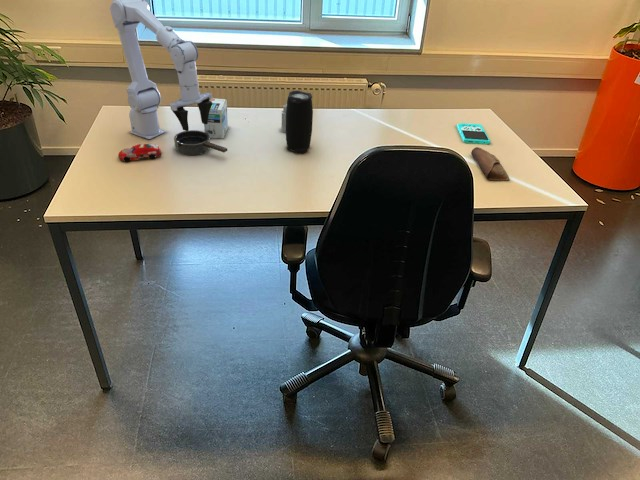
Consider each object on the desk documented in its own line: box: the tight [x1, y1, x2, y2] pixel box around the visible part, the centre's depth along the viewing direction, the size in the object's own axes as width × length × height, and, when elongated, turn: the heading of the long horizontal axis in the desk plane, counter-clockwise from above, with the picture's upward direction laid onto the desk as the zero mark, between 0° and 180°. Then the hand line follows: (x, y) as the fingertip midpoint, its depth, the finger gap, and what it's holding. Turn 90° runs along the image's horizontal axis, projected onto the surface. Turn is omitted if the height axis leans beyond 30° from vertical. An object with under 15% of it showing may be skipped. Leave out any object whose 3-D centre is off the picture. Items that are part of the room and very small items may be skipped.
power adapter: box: [280, 101, 287, 133], centre depth 190 cm, size 3×5×12 cm, turn 92°
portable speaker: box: [284, 90, 314, 155], centre depth 176 cm, size 9×9×20 cm
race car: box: [117, 143, 162, 163], centre depth 169 cm, size 13×5×4 cm, turn 109°
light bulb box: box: [203, 97, 229, 139], centre depth 186 cm, size 11×7×11 cm, turn 179°
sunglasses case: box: [470, 146, 510, 182], centre depth 177 cm, size 18×7×7 cm
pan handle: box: [204, 141, 228, 153], centre depth 172 cm, size 8×2×1 cm, turn 60°
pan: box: [173, 129, 211, 156], centre depth 176 cm, size 12×12×4 cm
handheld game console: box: [456, 122, 491, 145], centre depth 200 cm, size 10×16×1 cm, turn 178°
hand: (195, 126), depth 167 cm, fingers open, 7 cm apart
